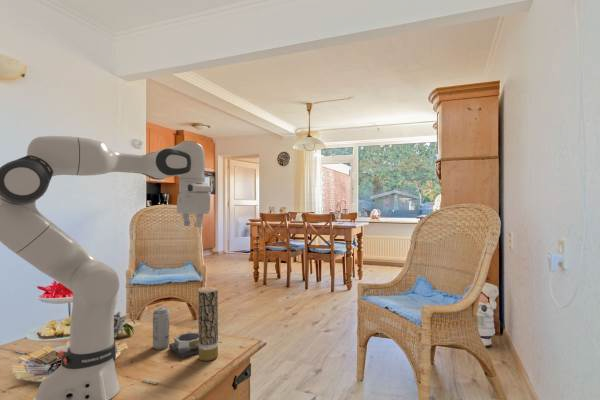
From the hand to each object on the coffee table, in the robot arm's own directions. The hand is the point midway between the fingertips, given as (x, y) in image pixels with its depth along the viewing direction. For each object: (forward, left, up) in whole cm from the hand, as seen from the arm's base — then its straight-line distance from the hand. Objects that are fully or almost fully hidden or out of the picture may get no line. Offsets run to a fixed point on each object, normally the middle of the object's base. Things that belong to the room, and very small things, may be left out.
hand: (192, 226), depth 121 cm
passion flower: (-14, +45, -48) cm, 67 cm away
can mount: (+3, +11, -48) cm, 49 cm away
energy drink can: (-4, +21, -48) cm, 53 cm away
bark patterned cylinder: (+6, 0, -48) cm, 49 cm away
